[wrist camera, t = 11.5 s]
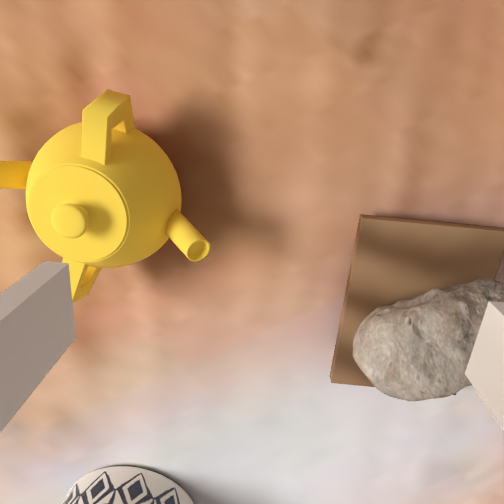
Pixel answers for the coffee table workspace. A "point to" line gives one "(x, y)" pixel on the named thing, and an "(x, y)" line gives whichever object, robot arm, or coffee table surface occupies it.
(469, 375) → the robot arm
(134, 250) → the teapot
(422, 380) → the stone
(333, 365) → the stand
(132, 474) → the planter
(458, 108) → the coffee table surface
